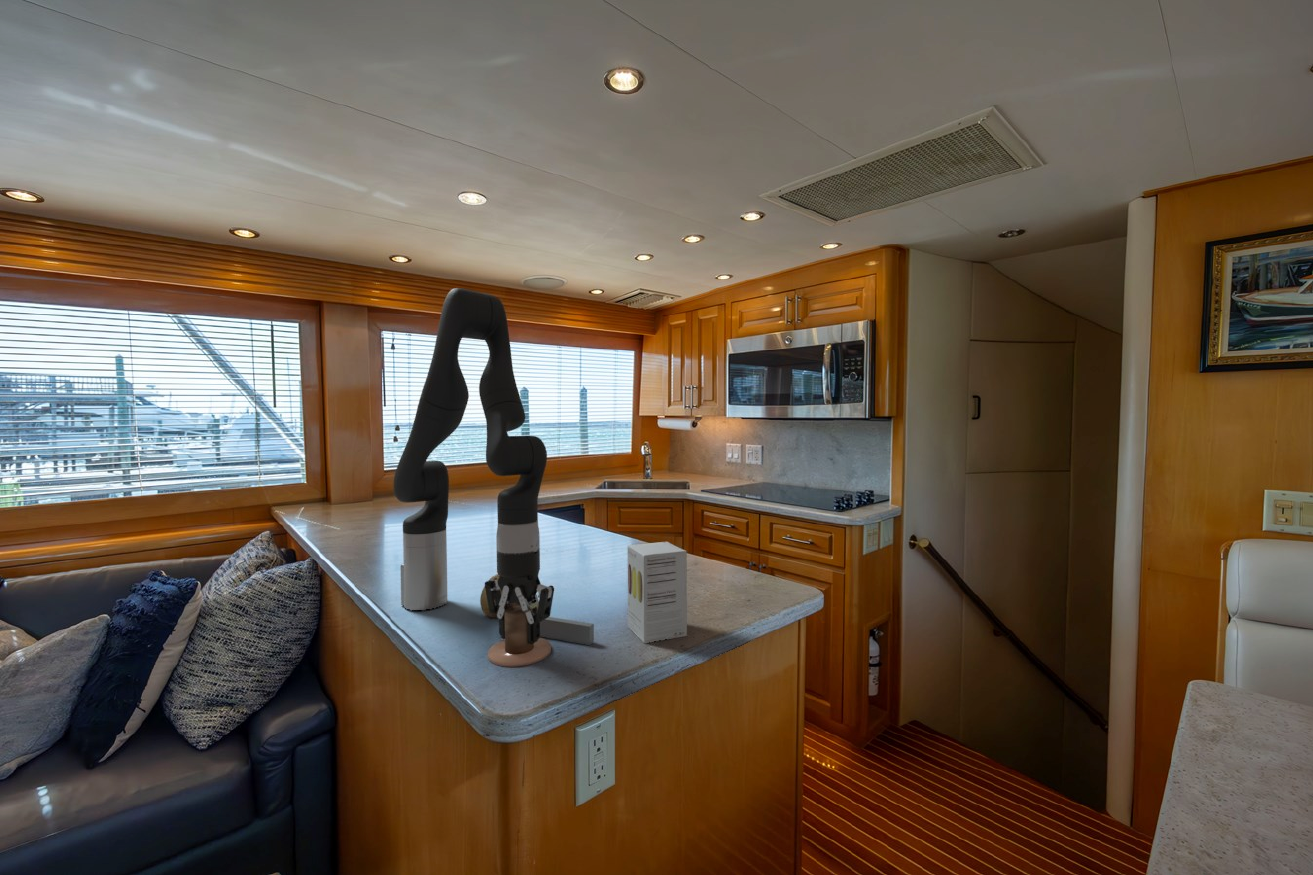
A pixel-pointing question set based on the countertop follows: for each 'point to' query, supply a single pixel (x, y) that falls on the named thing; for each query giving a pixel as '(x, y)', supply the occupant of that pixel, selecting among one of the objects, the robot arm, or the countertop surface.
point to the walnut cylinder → (516, 631)
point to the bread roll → (485, 603)
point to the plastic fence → (567, 630)
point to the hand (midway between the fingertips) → (519, 639)
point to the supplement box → (657, 591)
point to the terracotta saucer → (512, 660)
